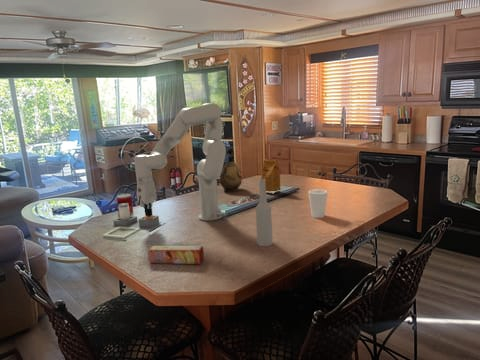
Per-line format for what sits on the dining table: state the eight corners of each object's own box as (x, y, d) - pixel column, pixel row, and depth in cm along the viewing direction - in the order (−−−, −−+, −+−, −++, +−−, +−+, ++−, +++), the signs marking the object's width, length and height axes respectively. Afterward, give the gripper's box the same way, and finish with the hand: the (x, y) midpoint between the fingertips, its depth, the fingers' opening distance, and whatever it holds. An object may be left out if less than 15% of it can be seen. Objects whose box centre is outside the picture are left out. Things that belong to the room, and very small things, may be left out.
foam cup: (329, 214, 189) (329, 189, 186) (325, 219, 180) (325, 194, 178) (311, 212, 193) (310, 189, 190) (306, 217, 184) (306, 193, 182)
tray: (140, 232, 176) (139, 228, 175) (124, 241, 165) (124, 236, 164) (120, 230, 180) (119, 226, 179) (103, 239, 169) (103, 234, 168)
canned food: (135, 212, 211) (133, 193, 208) (127, 216, 203) (125, 197, 201) (125, 211, 213) (122, 193, 211) (116, 215, 206) (113, 197, 204)
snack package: (147, 265, 139) (146, 248, 138) (154, 257, 146) (153, 242, 144) (200, 266, 136) (199, 250, 134) (205, 259, 142) (204, 243, 141)
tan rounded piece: (154, 222, 182) (154, 215, 182) (150, 225, 179) (149, 217, 178) (148, 222, 184) (147, 214, 183) (143, 224, 180) (142, 217, 179)
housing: (161, 225, 185) (160, 214, 184) (150, 231, 176) (149, 221, 175) (125, 222, 193) (124, 212, 192) (112, 228, 184) (111, 218, 183)
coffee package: (269, 189, 248) (268, 157, 243) (282, 192, 239) (281, 159, 234) (258, 192, 242) (257, 159, 237) (272, 195, 232) (270, 161, 228)
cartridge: (132, 221, 188) (130, 203, 186) (126, 225, 183) (124, 206, 181) (124, 221, 190) (122, 202, 188) (118, 224, 185) (116, 205, 183)
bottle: (261, 247, 150) (258, 182, 144) (254, 242, 156) (251, 179, 150) (275, 244, 152) (273, 179, 146) (268, 239, 158) (265, 177, 152)
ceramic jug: (242, 192, 244) (240, 148, 238) (219, 193, 244) (217, 149, 238) (242, 186, 260) (240, 145, 254) (221, 187, 261) (218, 146, 255)
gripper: (141, 183, 168) (146, 220, 172) (159, 176, 182) (163, 211, 186) (128, 183, 171) (133, 219, 175) (147, 176, 185) (151, 210, 189)
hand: (149, 215), depth 181 cm, fingers closed
